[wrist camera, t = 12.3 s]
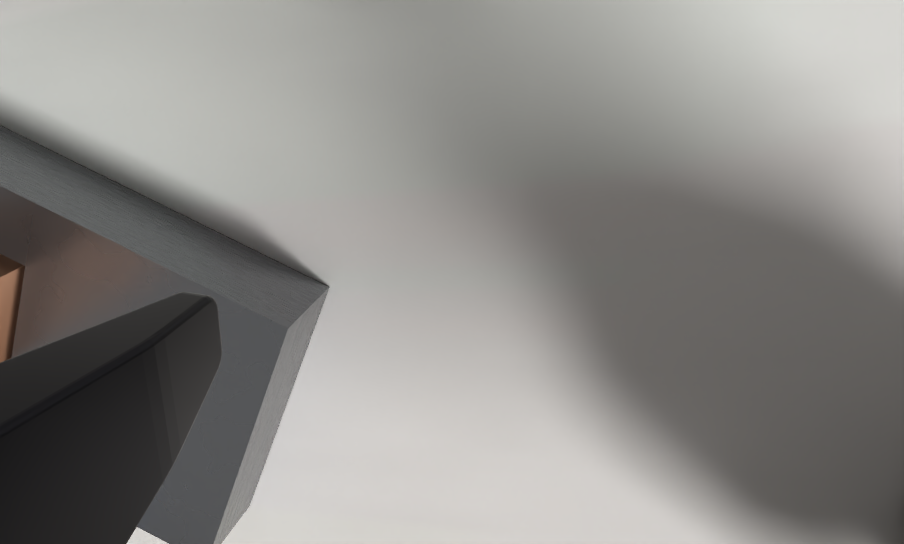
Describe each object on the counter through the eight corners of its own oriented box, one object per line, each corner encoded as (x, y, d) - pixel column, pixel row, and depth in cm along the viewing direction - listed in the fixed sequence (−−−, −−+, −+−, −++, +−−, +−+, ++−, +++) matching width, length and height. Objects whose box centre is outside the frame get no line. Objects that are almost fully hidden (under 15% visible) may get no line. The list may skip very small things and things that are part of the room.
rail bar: (329, 286, 24) (287, 328, 22) (249, 505, 29) (206, 563, 26) (-105, 74, 25) (-196, 88, 23) (-118, 317, 30) (-196, 353, 27)
